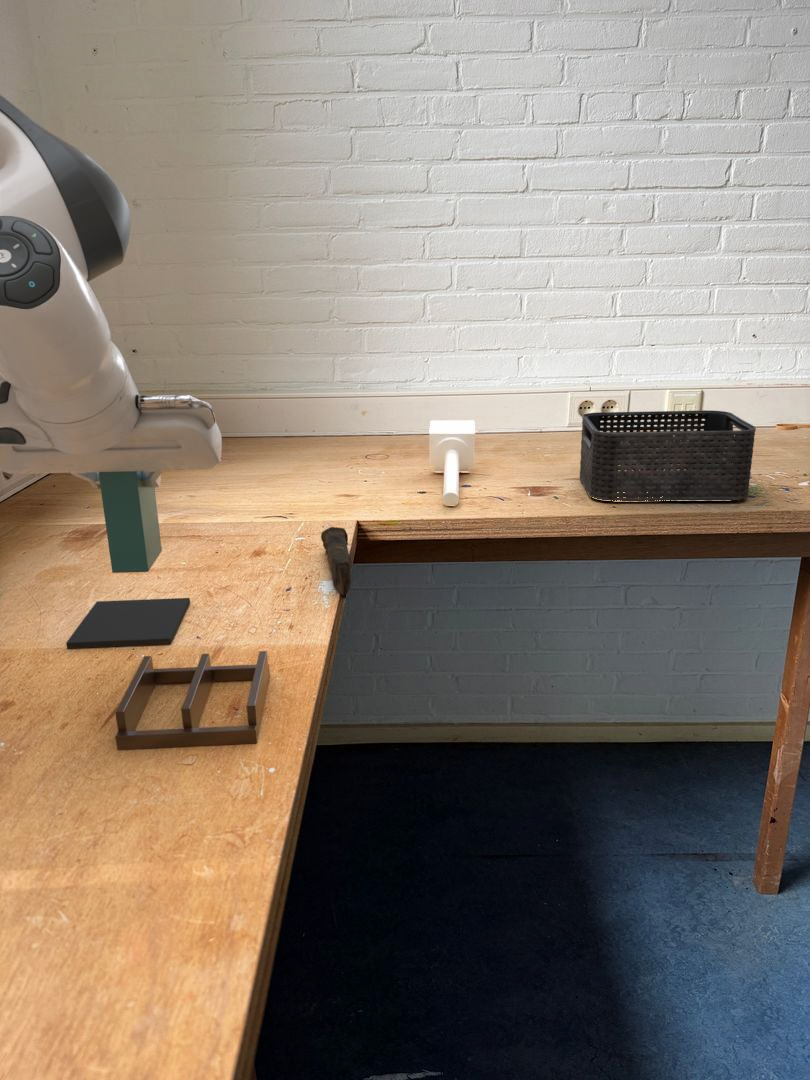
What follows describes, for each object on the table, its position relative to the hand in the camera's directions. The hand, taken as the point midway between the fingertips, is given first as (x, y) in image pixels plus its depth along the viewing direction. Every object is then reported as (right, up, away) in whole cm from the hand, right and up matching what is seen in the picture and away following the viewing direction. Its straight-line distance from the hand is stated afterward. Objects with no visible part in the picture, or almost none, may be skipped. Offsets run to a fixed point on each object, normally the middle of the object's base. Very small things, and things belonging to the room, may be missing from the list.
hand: (127, 482), depth 79 cm
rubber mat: (-7, -16, +20) cm, 27 cm away
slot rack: (+7, -23, +1) cm, 24 cm away
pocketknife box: (0, -8, +3) cm, 8 cm away
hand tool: (+18, -11, +36) cm, 42 cm away
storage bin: (+76, +4, +74) cm, 106 cm away
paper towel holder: (+37, +5, +80) cm, 88 cm away
